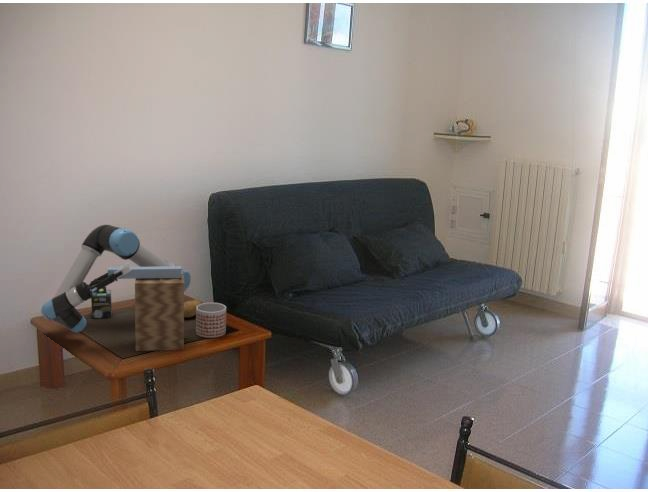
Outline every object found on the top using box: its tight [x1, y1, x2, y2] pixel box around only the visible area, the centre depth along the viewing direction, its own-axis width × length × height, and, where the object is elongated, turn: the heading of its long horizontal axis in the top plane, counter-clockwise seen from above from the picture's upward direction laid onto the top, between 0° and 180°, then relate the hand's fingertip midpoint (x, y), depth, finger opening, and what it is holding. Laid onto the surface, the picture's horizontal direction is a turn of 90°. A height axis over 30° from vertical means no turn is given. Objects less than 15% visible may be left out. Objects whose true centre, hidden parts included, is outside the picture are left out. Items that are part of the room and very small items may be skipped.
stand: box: [134, 274, 185, 352], centre depth 281 cm, size 20×14×30 cm
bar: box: [107, 265, 182, 280], centre depth 275 cm, size 30×4×4 cm, turn 103°
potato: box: [184, 299, 202, 319], centre depth 319 cm, size 10×14×8 cm
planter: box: [195, 302, 227, 339], centre depth 299 cm, size 14×14×13 cm
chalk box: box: [90, 286, 113, 319], centre depth 314 cm, size 9×9×15 cm
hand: (129, 266), depth 273 cm, fingers closed on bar, 4 cm apart
